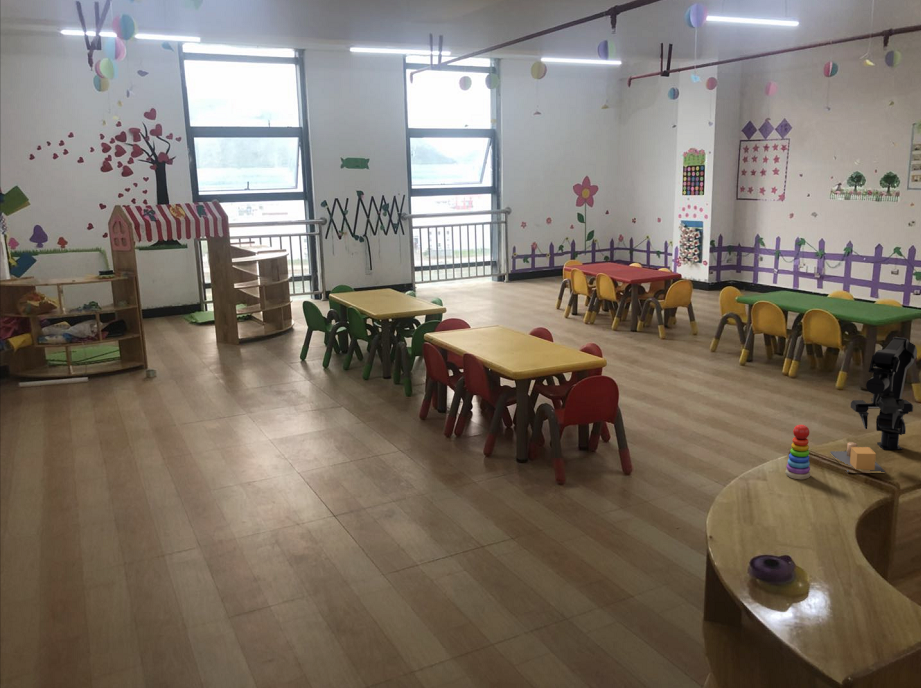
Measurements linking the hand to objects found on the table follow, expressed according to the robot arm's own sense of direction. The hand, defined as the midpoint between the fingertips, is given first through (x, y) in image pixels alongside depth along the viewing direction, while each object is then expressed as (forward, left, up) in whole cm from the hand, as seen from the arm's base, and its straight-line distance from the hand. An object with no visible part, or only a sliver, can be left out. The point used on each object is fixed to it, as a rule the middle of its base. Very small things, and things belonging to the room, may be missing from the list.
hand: (879, 428), depth 263 cm
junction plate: (+3, -8, -12) cm, 15 cm away
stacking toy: (+14, -31, -12) cm, 36 cm away
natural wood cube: (+8, -8, -11) cm, 16 cm away
